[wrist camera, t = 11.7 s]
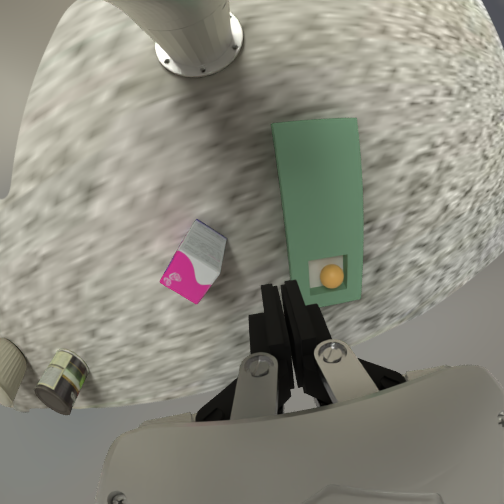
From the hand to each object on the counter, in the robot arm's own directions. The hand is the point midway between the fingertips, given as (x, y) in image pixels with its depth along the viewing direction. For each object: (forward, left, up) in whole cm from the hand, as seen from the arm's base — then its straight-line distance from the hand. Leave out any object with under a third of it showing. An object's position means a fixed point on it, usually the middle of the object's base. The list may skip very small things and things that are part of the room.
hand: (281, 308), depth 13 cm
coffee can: (+33, -52, -29) cm, 68 cm away
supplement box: (+7, -9, -29) cm, 31 cm away
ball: (+15, +10, -27) cm, 32 cm away
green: (+6, +10, -29) cm, 31 cm away
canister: (+31, -80, -29) cm, 91 cm away
